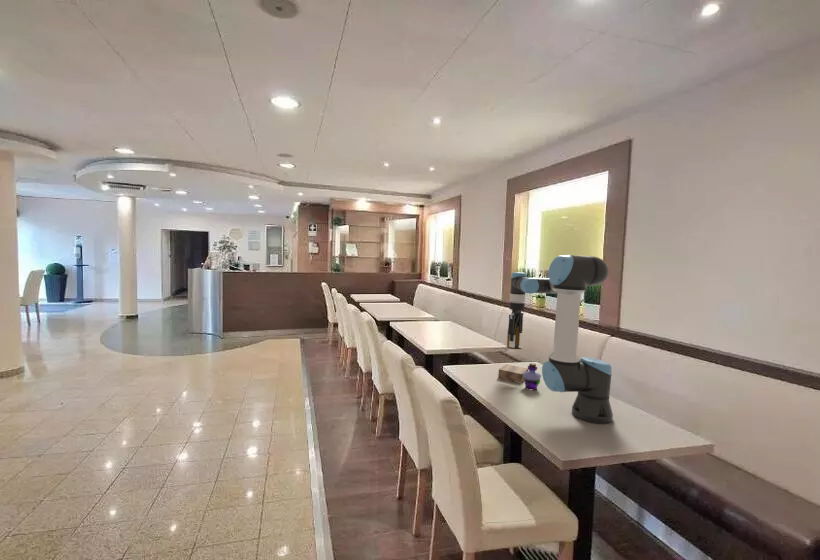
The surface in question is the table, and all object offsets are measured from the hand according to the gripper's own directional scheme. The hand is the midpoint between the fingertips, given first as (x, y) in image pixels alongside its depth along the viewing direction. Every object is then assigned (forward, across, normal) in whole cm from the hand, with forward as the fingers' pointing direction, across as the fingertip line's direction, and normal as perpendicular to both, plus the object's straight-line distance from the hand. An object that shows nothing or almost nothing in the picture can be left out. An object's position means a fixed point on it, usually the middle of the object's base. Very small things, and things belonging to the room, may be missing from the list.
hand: (514, 346), depth 204 cm
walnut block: (+17, 0, 0) cm, 17 cm away
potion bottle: (+17, +9, +13) cm, 23 cm away
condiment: (+1, 0, 0) cm, 1 cm away
